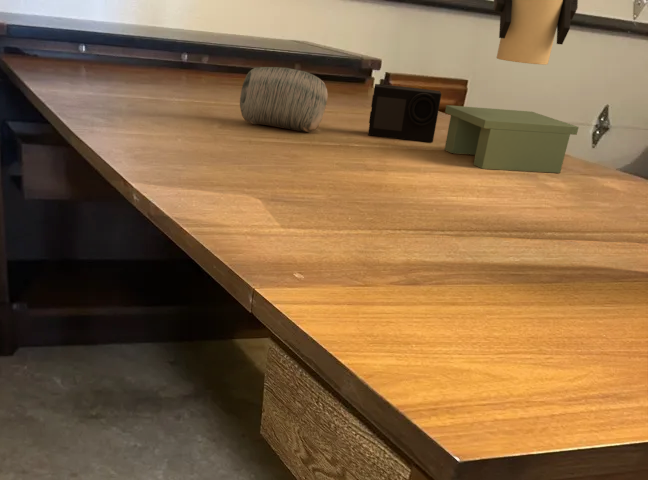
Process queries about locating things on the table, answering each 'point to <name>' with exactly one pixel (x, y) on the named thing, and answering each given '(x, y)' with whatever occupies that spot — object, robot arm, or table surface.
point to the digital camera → (404, 112)
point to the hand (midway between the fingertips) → (534, 33)
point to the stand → (508, 138)
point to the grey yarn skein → (283, 98)
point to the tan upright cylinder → (530, 31)
